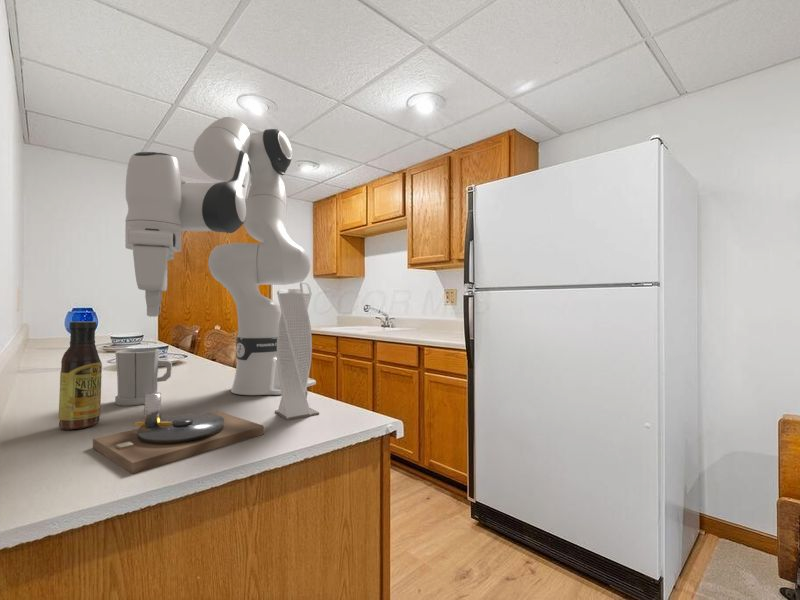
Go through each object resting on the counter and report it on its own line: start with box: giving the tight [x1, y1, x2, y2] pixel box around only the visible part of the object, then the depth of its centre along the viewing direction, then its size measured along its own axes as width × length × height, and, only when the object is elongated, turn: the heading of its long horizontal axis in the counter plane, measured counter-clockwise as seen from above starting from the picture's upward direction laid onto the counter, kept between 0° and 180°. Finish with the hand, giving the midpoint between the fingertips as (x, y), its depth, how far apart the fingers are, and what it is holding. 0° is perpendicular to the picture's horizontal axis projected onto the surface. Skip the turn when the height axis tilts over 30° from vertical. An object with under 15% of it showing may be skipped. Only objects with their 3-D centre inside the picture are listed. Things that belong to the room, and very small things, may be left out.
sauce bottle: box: [58, 320, 103, 431], centre depth 78 cm, size 7×6×20 cm
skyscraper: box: [274, 280, 320, 421], centre depth 86 cm, size 8×8×28 cm
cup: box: [114, 347, 173, 407], centre depth 97 cm, size 10×9×12 cm
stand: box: [92, 410, 265, 475], centre depth 70 cm, size 21×16×2 cm
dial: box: [133, 392, 224, 444], centre depth 70 cm, size 14×13×6 cm
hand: (153, 315), depth 75 cm, fingers open, 4 cm apart
